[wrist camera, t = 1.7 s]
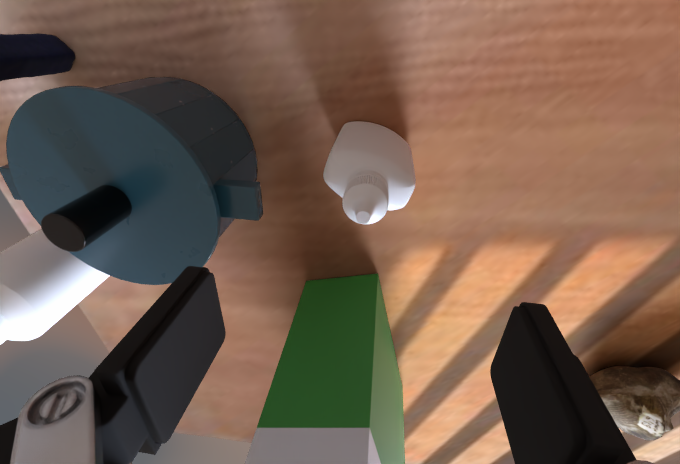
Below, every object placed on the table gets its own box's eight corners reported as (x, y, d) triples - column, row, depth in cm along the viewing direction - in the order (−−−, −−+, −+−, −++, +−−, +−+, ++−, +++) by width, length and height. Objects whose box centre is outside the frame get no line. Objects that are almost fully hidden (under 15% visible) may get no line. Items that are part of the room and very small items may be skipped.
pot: (62, 72, 27) (-59, 87, 20) (283, 82, 25) (240, 103, 18) (113, 212, 33) (36, 263, 26) (291, 228, 32) (262, 287, 24)
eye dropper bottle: (374, 187, 28) (366, 275, 18) (329, 136, 27) (291, 202, 17) (418, 154, 27) (435, 232, 16) (372, 97, 25) (359, 144, 15)
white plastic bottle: (57, 212, 34) (-213, 360, 19) (109, 197, 32) (-143, 348, 17) (99, 265, 37) (-104, 430, 22) (148, 255, 36) (-35, 425, 20)
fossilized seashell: (723, 378, 31) (602, 344, 33) (738, 460, 28) (605, 418, 30) (660, 384, 38) (562, 356, 40) (667, 452, 35) (561, 418, 37)
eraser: (42, 52, 26) (-56, 59, 20) (53, 29, 25) (-47, 30, 20) (68, 75, 27) (-20, 88, 21) (79, 53, 26) (-10, 61, 20)
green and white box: (402, 387, 41) (413, 736, 21) (343, 389, 43) (301, 714, 23) (377, 273, 33) (356, 670, 13) (306, 280, 35) (184, 642, 14)
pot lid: (-19, 78, 20) (-135, 92, 15) (204, 90, 18) (146, 108, 14) (71, 266, 27) (9, 312, 22) (237, 284, 25) (205, 336, 21)
